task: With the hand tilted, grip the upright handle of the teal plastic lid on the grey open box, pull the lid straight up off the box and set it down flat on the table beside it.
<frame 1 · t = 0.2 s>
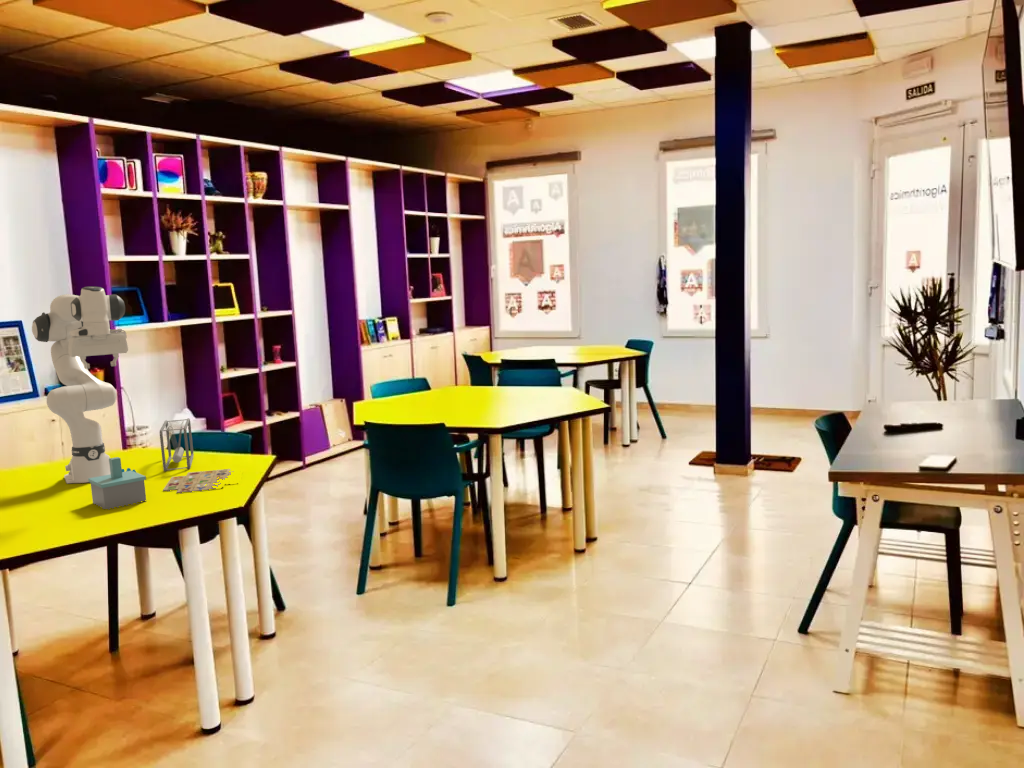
hand: (100, 367, 317), 48 cm above the table, tool pointing down, fingers open, 8 cm apart
grey open box: (119, 502, 306), on the table
alphabet tiles: (204, 482, 333), on the table
lid: (117, 480, 305), point 8 cm above the table, touching grey open box
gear: (127, 489, 326), on the table
newton's cradle: (179, 464, 368), on the table
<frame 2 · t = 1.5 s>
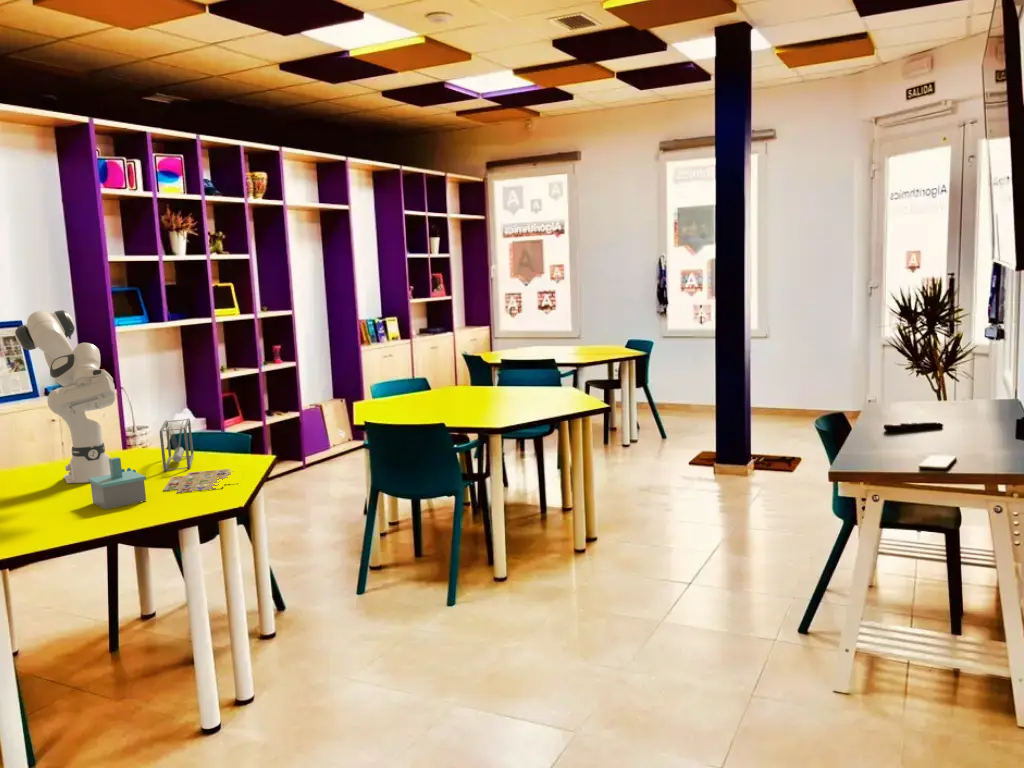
hand: (84, 411, 306), 33 cm above the table, tool tilted 45°, fingers open, 8 cm apart
nothing on the table moved.
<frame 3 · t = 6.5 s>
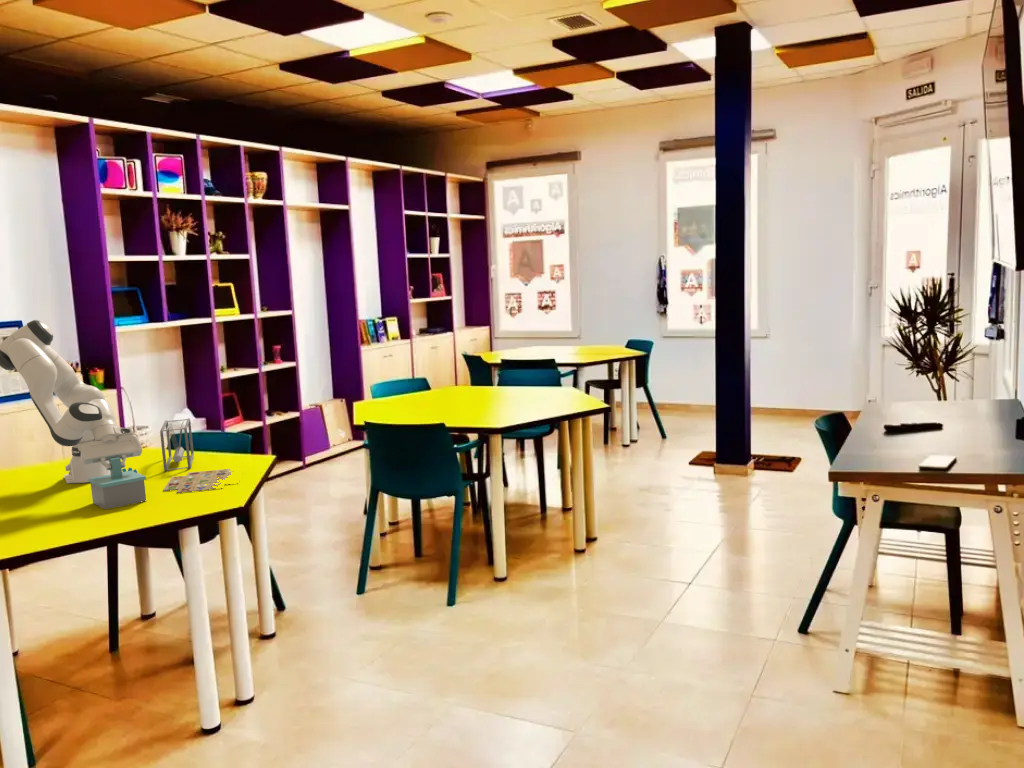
hand: (116, 467, 304), 13 cm above the table, tool tilted 45°, fingers closed on lid, 3 cm apart
lid: (117, 480, 305), point 8 cm above the table, touching gripper, grey open box
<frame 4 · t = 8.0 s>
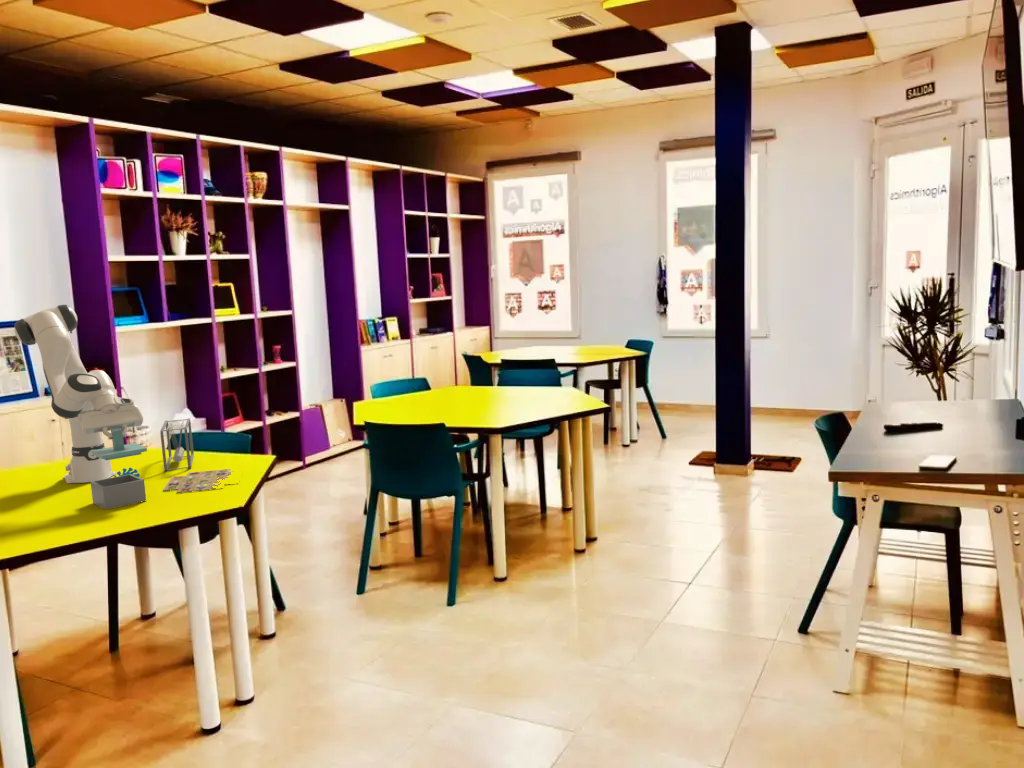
hand: (117, 437, 303), 24 cm above the table, tool tilted 45°, fingers closed on lid, 3 cm apart
lid: (119, 452, 305), point 18 cm above the table, touching gripper
everything else where it was.
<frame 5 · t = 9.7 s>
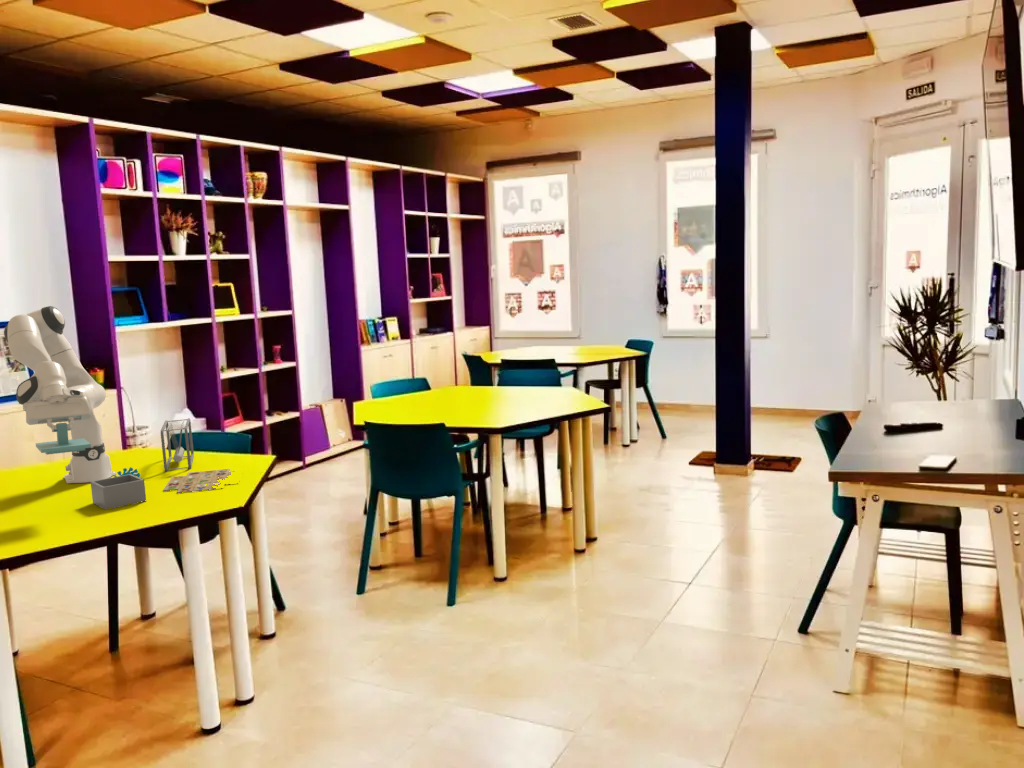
hand: (62, 430, 292), 29 cm above the table, tool tilted 45°, fingers closed on lid, 3 cm apart
lid: (63, 447, 293), point 23 cm above the table, touching gripper
everything else where it was.
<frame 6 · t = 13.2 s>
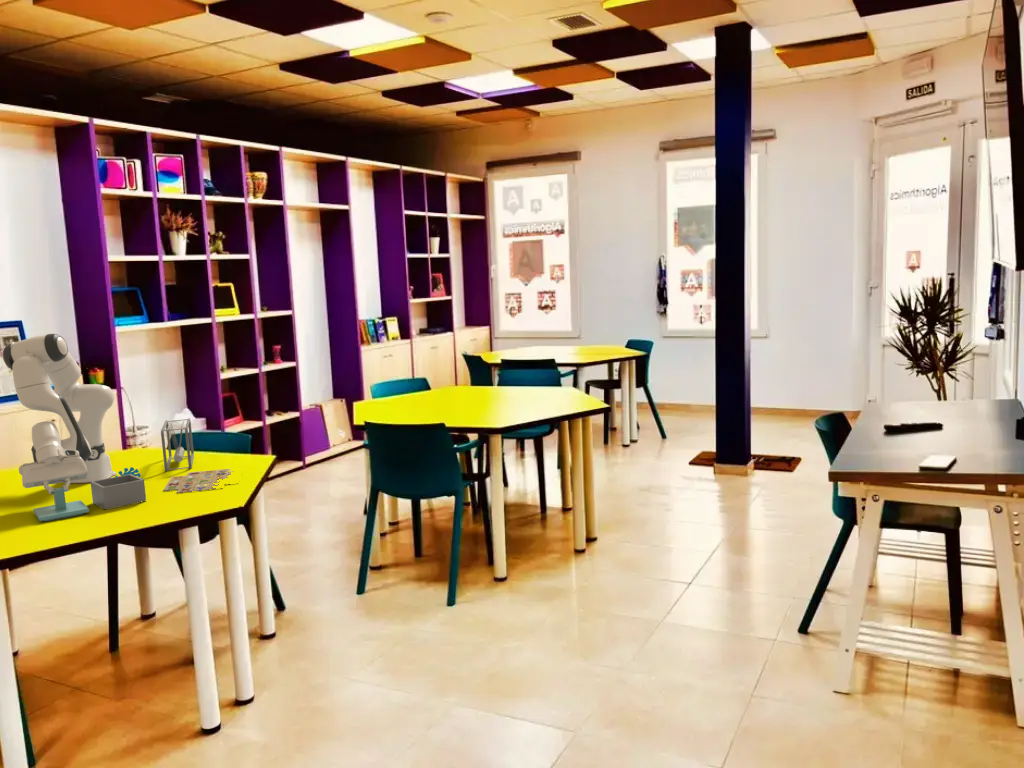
hand: (59, 491, 292), 8 cm above the table, tool tilted 45°, fingers closed on lid, 3 cm apart
lid: (61, 511, 293), point 1 cm above the table, touching gripper
when the fingers open (7 cm above the table, at t = 13.7 s): lid stays where it is, point 1 cm above the table.
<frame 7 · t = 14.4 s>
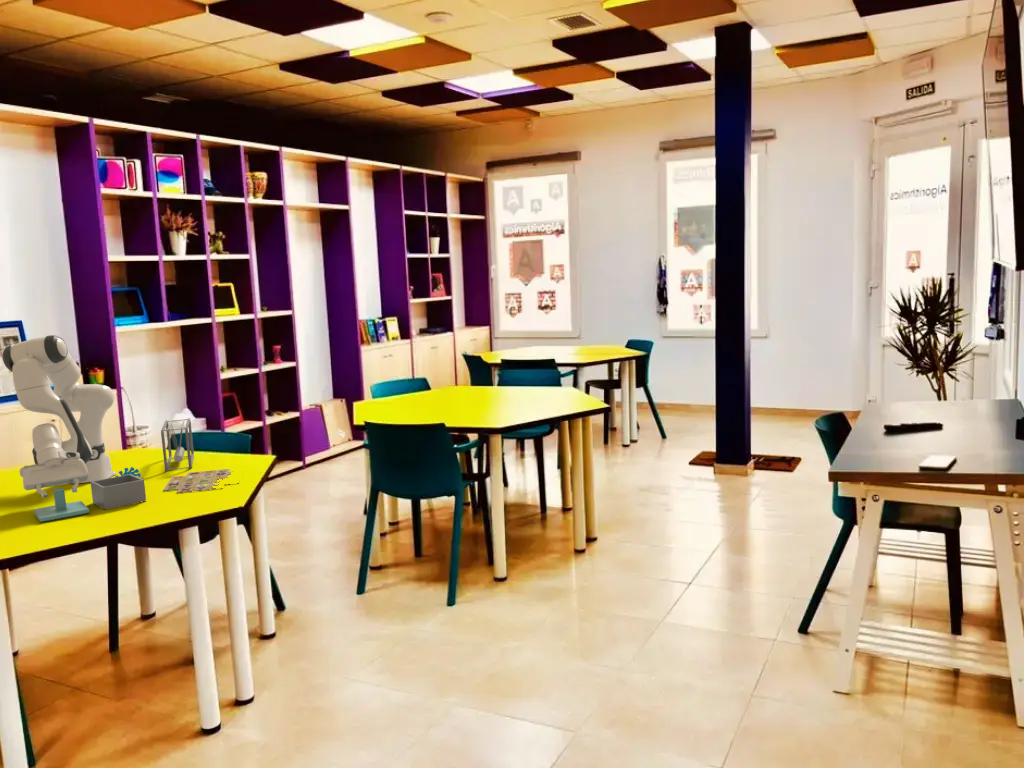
hand: (59, 494, 292), 7 cm above the table, tool tilted 45°, fingers open, 8 cm apart
lid: (61, 512, 293), point 1 cm above the table
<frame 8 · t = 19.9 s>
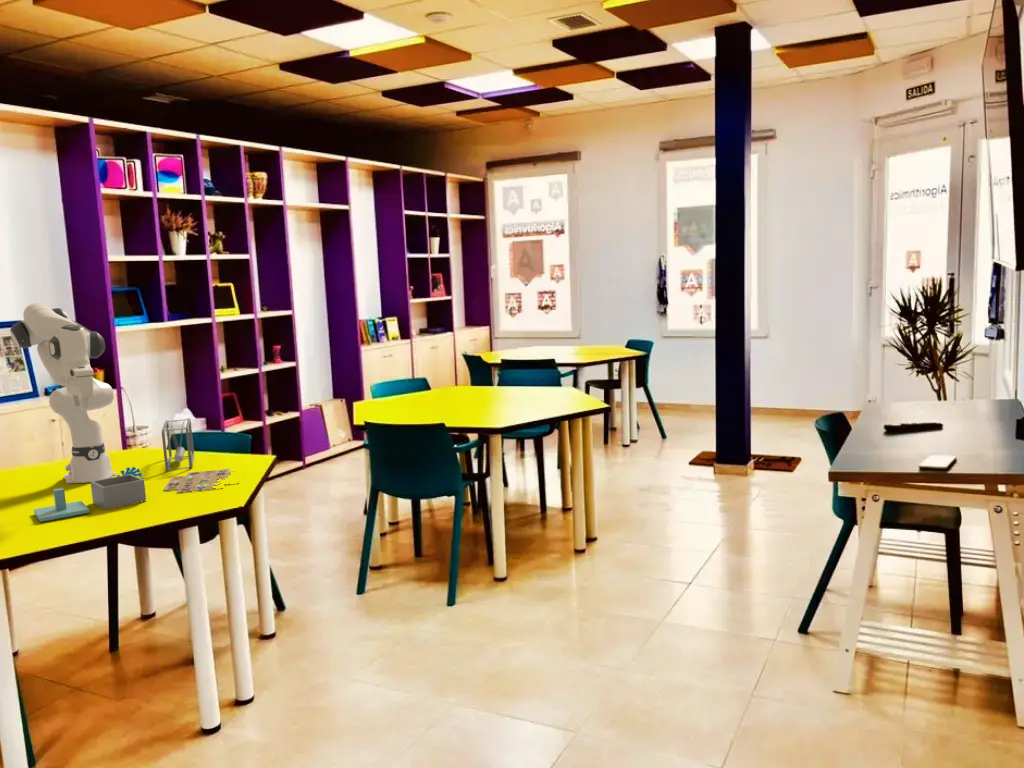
hand: (81, 407, 309), 34 cm above the table, tool pointing down, fingers open, 8 cm apart
at the end: lid inside the target area (0.2 cm from its centre), point 0.6 cm above the table; lid tilted 0°; the gripper is holding nothing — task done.
